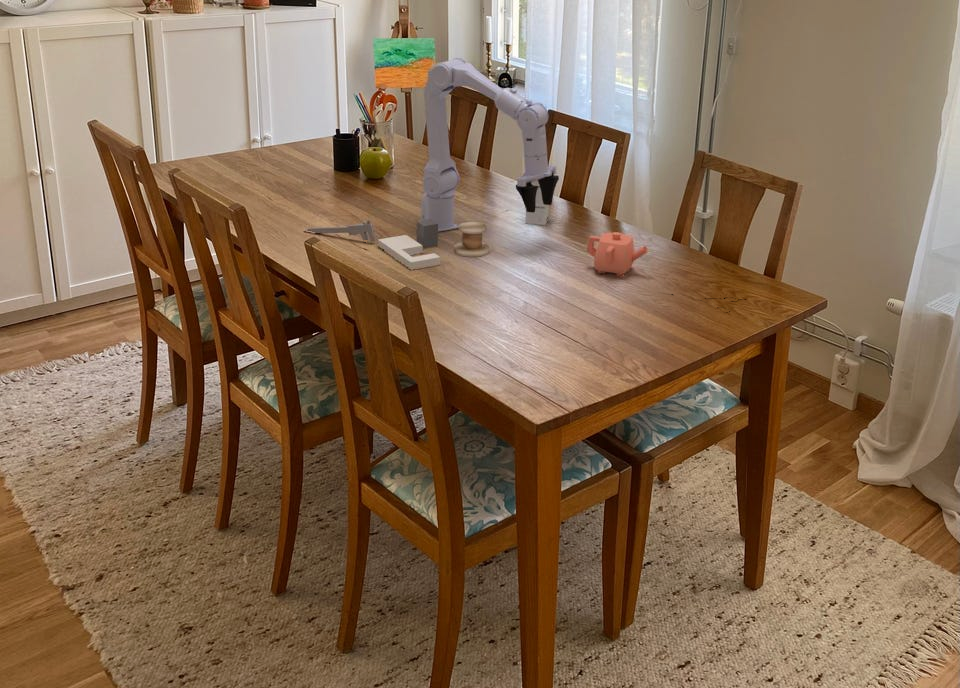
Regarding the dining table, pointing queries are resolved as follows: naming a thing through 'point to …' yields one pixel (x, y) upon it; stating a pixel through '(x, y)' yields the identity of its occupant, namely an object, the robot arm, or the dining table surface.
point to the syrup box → (538, 209)
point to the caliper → (349, 230)
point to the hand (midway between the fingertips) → (539, 208)
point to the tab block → (427, 233)
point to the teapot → (614, 252)
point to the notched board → (408, 252)
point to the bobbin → (472, 240)
